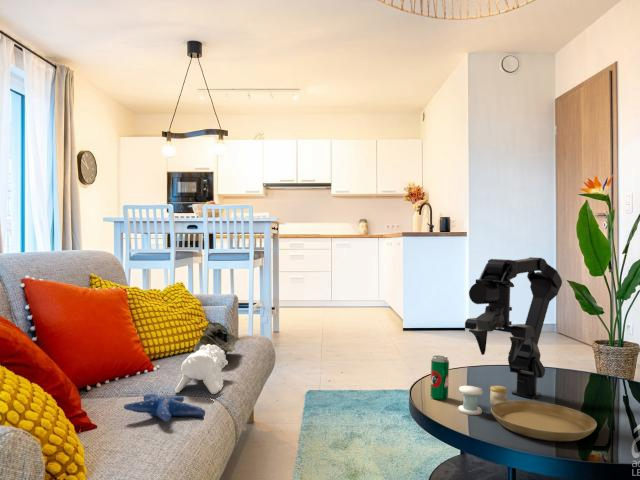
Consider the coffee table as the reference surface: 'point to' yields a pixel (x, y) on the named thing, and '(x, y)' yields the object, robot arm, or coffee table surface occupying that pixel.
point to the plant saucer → (543, 420)
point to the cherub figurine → (204, 368)
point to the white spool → (470, 400)
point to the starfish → (165, 407)
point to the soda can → (439, 377)
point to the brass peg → (498, 394)
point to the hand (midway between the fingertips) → (497, 357)
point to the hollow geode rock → (217, 338)
